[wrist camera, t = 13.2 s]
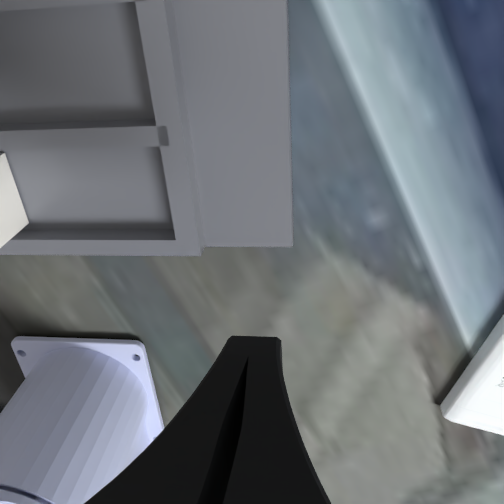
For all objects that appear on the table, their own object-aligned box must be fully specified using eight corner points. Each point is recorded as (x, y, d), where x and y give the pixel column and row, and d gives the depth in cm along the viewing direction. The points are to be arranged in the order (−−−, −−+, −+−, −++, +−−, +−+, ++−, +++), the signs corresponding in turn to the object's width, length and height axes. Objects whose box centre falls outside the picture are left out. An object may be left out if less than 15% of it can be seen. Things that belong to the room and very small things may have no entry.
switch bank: (293, 236, 22) (291, 258, 20) (-105, 235, 25) (-136, 255, 23) (281, -243, 14) (276, -272, 12) (-309, -159, 17) (-380, -173, 15)
